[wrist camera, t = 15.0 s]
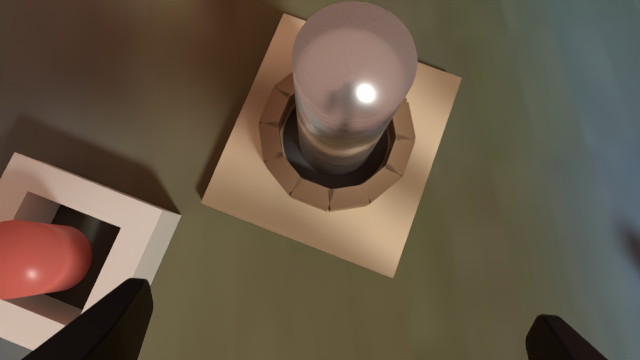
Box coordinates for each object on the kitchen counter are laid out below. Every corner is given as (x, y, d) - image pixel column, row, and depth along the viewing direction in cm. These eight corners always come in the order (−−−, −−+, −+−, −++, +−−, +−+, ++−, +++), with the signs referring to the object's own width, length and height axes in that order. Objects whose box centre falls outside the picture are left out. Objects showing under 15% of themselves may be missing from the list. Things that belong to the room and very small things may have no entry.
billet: (370, 178, 23) (416, 122, 13) (297, 174, 23) (287, 115, 13) (372, 108, 24) (417, 4, 14) (301, 104, 23) (295, -3, 14)
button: (84, 299, 21) (25, 311, 17) (27, 276, 21) (-47, 282, 17) (112, 239, 22) (61, 236, 17) (56, 217, 22) (-8, 208, 18)
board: (389, 277, 23) (398, 279, 21) (205, 205, 23) (192, 199, 21) (455, 84, 25) (471, 66, 23) (284, 22, 25) (281, -3, 23)
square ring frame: (118, 357, 22) (88, 373, 19) (-19, 301, 22) (-69, 308, 19) (181, 215, 23) (162, 210, 20) (51, 164, 24) (14, 152, 21)
